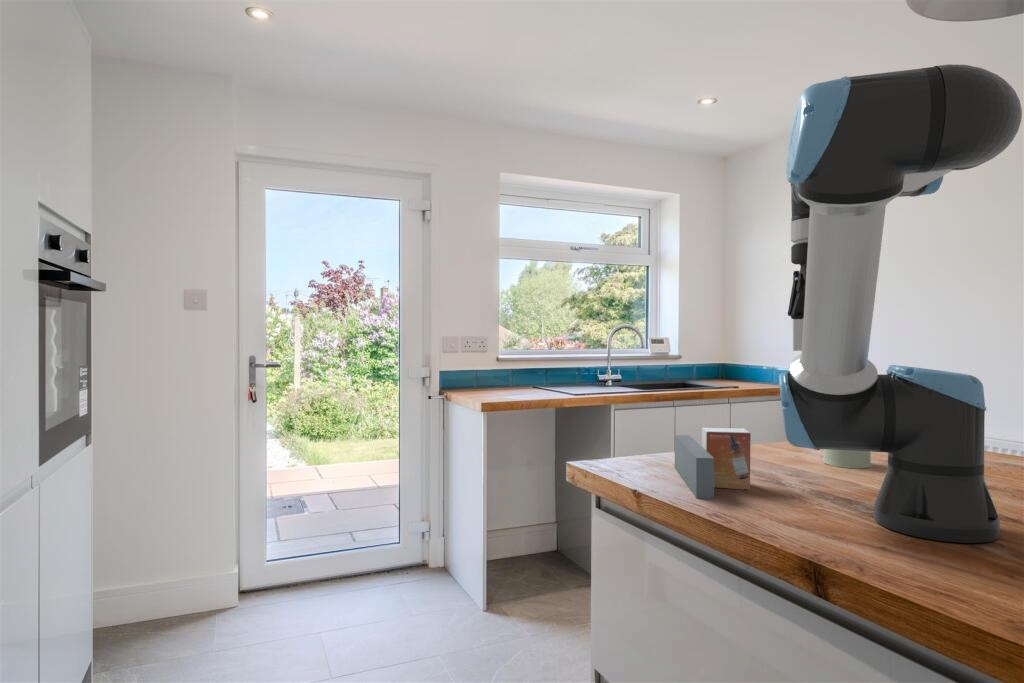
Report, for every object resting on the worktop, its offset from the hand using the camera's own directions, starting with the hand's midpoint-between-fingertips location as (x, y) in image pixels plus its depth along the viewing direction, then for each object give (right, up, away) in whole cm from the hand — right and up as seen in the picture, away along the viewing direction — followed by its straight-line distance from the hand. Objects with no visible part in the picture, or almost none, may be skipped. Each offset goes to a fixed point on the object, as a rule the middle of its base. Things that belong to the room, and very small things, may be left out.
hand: (812, 351), depth 120 cm
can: (+14, -25, +13) cm, 31 cm away
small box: (-19, -25, -5) cm, 32 cm away
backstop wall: (-24, -25, -2) cm, 35 cm away
